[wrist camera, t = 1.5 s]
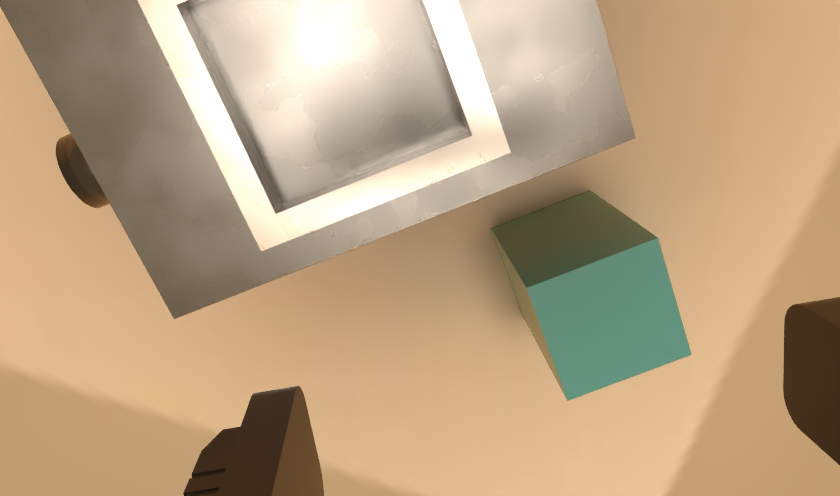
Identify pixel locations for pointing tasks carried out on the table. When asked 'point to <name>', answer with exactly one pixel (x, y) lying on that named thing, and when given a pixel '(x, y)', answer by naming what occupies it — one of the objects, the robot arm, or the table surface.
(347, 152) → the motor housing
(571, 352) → the block
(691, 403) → the table surface
